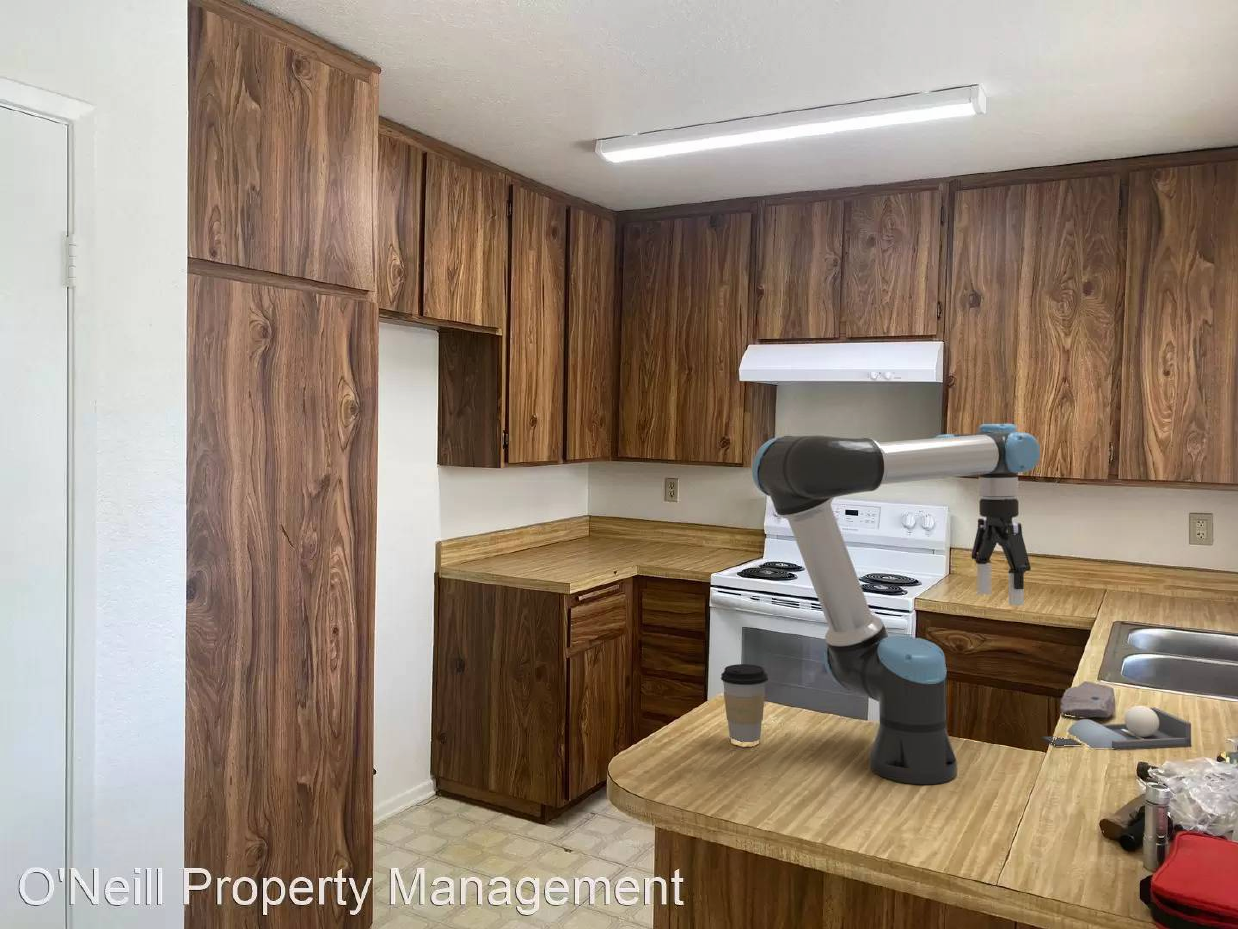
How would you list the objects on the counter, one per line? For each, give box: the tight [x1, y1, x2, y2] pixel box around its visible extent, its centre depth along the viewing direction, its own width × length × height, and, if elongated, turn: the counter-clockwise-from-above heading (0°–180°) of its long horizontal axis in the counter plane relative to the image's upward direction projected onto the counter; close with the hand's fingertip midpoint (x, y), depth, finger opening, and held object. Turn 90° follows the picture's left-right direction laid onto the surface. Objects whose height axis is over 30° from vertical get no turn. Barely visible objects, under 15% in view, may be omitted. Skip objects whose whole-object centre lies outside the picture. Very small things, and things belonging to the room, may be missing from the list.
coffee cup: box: [720, 663, 769, 742], centre depth 183 cm, size 9×9×15 cm
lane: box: [1101, 707, 1192, 750], centre depth 180 cm, size 16×11×4 cm
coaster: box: [1042, 735, 1082, 747], centre depth 179 cm, size 5×5×1 cm
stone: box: [1059, 680, 1117, 719], centre depth 197 cm, size 13×10×6 cm
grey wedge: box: [1067, 718, 1127, 749], centre depth 180 cm, size 9×8×8 cm
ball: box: [1124, 705, 1159, 737], centre depth 180 cm, size 6×6×6 cm
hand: (999, 599), depth 190 cm, fingers open, 13 cm apart
